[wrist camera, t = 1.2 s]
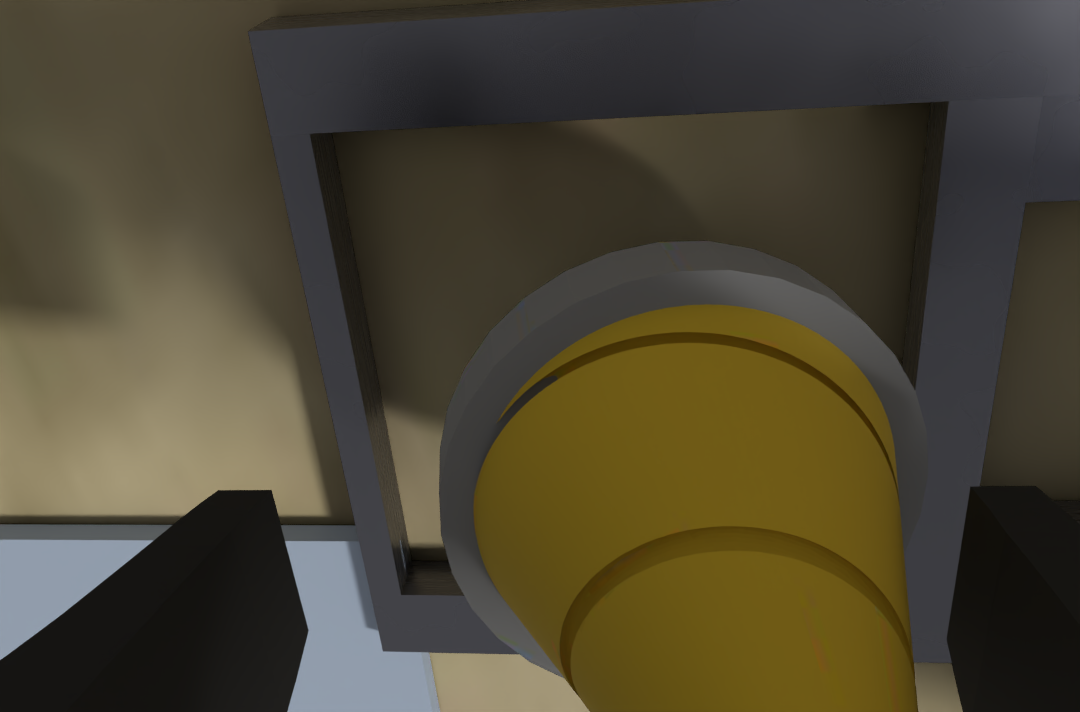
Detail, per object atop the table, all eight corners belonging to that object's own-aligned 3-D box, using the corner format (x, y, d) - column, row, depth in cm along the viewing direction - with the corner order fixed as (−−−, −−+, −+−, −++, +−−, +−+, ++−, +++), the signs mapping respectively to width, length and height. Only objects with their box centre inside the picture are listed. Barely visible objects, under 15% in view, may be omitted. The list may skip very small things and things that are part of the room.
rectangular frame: (1537, -68, 11) (1597, -57, 10) (1277, 630, 16) (1306, 670, 15) (271, 17, 12) (247, 31, 12) (393, 616, 17) (382, 651, 17)
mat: (405, 525, 16) (400, 541, 16) (463, 839, 20) (460, 857, 20) (-46, 523, 17) (-61, 539, 17) (92, 822, 21) (83, 839, 21)
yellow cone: (367, 294, 14) (205, 1071, 5) (725, 101, 13) (1373, 558, 4) (551, 573, 16) (689, 1485, 7) (866, 420, 15) (1500, 1200, 6)
